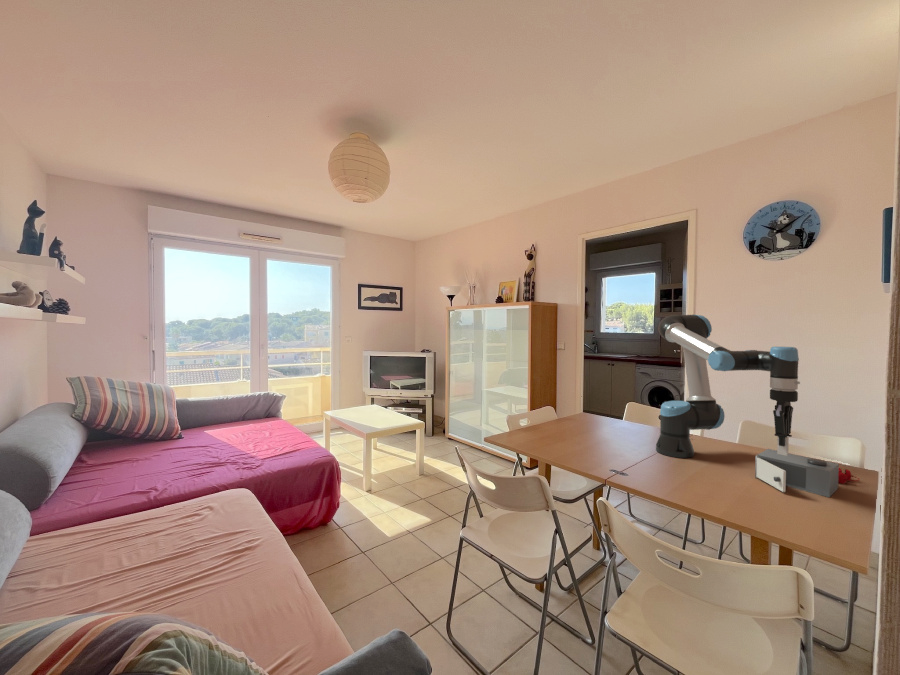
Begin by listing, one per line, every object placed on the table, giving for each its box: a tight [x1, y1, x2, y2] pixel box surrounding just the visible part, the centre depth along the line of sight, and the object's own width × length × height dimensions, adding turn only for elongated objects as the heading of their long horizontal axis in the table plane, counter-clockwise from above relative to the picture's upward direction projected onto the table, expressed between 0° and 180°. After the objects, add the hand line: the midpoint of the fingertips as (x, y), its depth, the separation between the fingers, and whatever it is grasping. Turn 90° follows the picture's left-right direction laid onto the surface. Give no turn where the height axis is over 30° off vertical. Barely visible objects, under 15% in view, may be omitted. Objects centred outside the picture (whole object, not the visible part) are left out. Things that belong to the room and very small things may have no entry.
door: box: [754, 454, 787, 493], centre depth 137 cm, size 14×2×8 cm, turn 174°
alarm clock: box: [838, 467, 861, 485], centre depth 144 cm, size 10×6×15 cm
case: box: [756, 448, 840, 498], centre depth 139 cm, size 20×12×10 cm, turn 34°
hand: (782, 454), depth 135 cm, fingers closed
